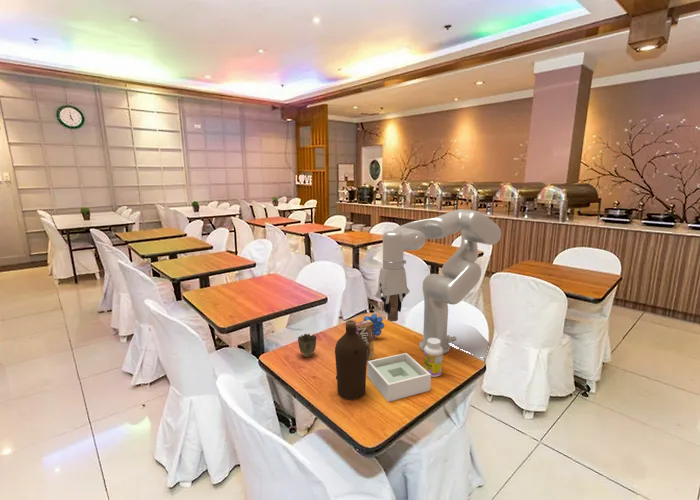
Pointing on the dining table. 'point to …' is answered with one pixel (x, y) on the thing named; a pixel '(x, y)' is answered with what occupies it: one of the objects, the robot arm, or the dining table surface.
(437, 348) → the supplement bottle
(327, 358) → the dining table surface
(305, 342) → the cup
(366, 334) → the candy box
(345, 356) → the olive oil
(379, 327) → the grapes
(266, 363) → the dining table surface
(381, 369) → the box
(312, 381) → the dining table surface
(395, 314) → the peg
